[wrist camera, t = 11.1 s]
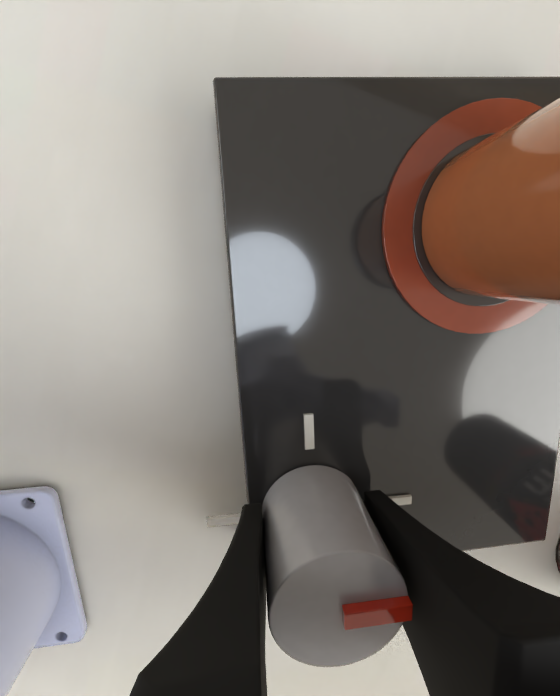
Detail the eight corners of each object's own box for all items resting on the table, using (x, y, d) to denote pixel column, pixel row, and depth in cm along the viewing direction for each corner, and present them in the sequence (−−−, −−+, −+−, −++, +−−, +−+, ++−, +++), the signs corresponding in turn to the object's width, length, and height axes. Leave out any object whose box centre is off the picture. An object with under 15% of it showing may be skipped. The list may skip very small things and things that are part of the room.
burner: (379, 339, 12) (381, 341, 12) (382, 101, 11) (386, 97, 10) (572, 326, 13) (578, 327, 13) (605, 99, 11) (612, 95, 11)
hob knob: (264, 558, 14) (273, 690, 9) (257, 469, 13) (264, 571, 9) (360, 546, 14) (411, 668, 10) (360, 459, 13) (417, 551, 9)
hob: (220, 561, 16) (216, 609, 14) (172, 110, 12) (155, 72, 10) (506, 526, 18) (545, 564, 15) (554, 106, 13) (619, 72, 11)
